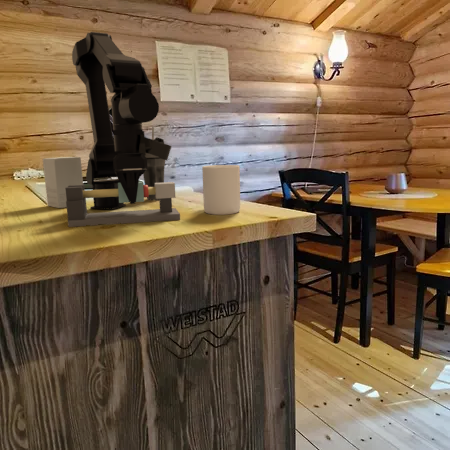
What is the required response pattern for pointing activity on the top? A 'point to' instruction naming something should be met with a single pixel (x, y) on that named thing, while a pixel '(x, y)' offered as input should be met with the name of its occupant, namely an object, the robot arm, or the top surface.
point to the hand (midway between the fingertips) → (132, 201)
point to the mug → (221, 189)
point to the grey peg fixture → (82, 218)
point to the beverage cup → (153, 171)
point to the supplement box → (61, 178)
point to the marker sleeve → (124, 198)
